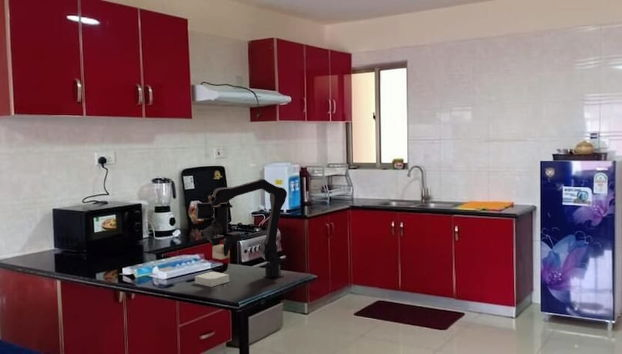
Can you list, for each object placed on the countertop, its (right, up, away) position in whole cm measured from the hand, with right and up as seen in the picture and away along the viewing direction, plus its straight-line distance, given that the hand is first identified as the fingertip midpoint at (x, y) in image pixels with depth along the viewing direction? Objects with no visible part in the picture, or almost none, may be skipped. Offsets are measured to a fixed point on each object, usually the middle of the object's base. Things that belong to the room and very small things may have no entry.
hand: (221, 255), depth 242 cm
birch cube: (0, -1, 0) cm, 1 cm away
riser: (-4, -12, +1) cm, 12 cm away
